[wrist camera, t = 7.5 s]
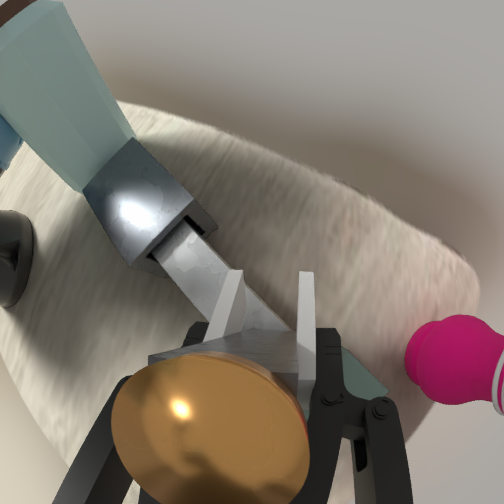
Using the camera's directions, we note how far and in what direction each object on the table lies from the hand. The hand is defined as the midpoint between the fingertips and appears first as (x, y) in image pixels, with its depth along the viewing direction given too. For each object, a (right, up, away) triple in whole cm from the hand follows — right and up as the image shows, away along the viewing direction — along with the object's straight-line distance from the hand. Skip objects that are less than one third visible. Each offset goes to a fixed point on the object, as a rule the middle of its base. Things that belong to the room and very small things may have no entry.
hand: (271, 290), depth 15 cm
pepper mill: (+15, -7, +5) cm, 18 cm away
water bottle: (-19, +12, +14) cm, 26 cm away
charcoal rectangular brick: (-10, +6, +11) cm, 16 cm away
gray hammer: (-2, -3, +7) cm, 7 cm away
